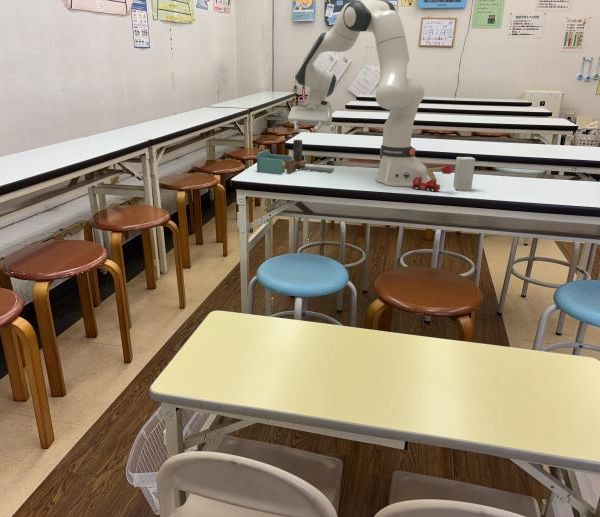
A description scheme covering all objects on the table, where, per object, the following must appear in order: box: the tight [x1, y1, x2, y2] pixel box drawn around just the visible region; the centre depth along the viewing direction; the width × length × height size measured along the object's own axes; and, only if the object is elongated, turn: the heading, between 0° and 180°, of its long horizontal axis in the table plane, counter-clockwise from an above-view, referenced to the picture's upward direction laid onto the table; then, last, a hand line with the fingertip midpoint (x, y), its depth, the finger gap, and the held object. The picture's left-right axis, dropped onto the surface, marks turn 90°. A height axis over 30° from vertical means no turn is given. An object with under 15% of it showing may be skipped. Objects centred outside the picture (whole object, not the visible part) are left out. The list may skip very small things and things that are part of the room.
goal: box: [256, 148, 293, 175], centre depth 219 cm, size 12×11×8 cm
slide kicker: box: [286, 139, 306, 174], centre depth 219 cm, size 6×13×12 cm, turn 159°
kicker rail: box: [295, 165, 335, 174], centre depth 222 cm, size 17×5×1 cm, turn 69°
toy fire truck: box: [411, 165, 453, 192], centre depth 190 cm, size 3×14×10 cm, turn 62°
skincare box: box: [452, 156, 476, 190], centre depth 192 cm, size 6×4×12 cm
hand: (305, 130), depth 228 cm, fingers open, 8 cm apart
